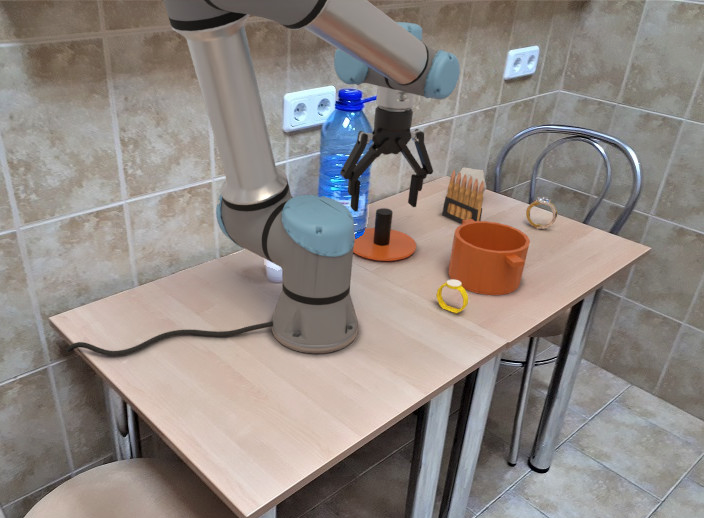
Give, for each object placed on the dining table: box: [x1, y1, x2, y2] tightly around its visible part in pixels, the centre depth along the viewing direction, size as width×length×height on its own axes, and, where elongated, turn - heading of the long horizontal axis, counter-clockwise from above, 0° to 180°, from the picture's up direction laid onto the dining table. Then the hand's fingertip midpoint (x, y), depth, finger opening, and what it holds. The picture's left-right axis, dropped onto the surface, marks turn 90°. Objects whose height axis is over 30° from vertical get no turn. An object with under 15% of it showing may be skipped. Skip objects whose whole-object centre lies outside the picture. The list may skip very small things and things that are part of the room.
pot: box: [447, 219, 531, 296], centre depth 126 cm, size 15×20×10 cm
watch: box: [436, 279, 469, 314], centre depth 115 cm, size 6×3×6 cm, turn 49°
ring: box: [525, 196, 558, 230], centre depth 148 cm, size 7×3×8 cm, turn 50°
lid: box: [353, 207, 417, 262], centre depth 136 cm, size 16×16×9 cm
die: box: [455, 166, 487, 194], centre depth 163 cm, size 8×9×10 cm
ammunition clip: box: [441, 169, 485, 225], centre depth 149 cm, size 11×2×12 cm, turn 38°
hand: (383, 207), depth 133 cm, fingers open, 13 cm apart
